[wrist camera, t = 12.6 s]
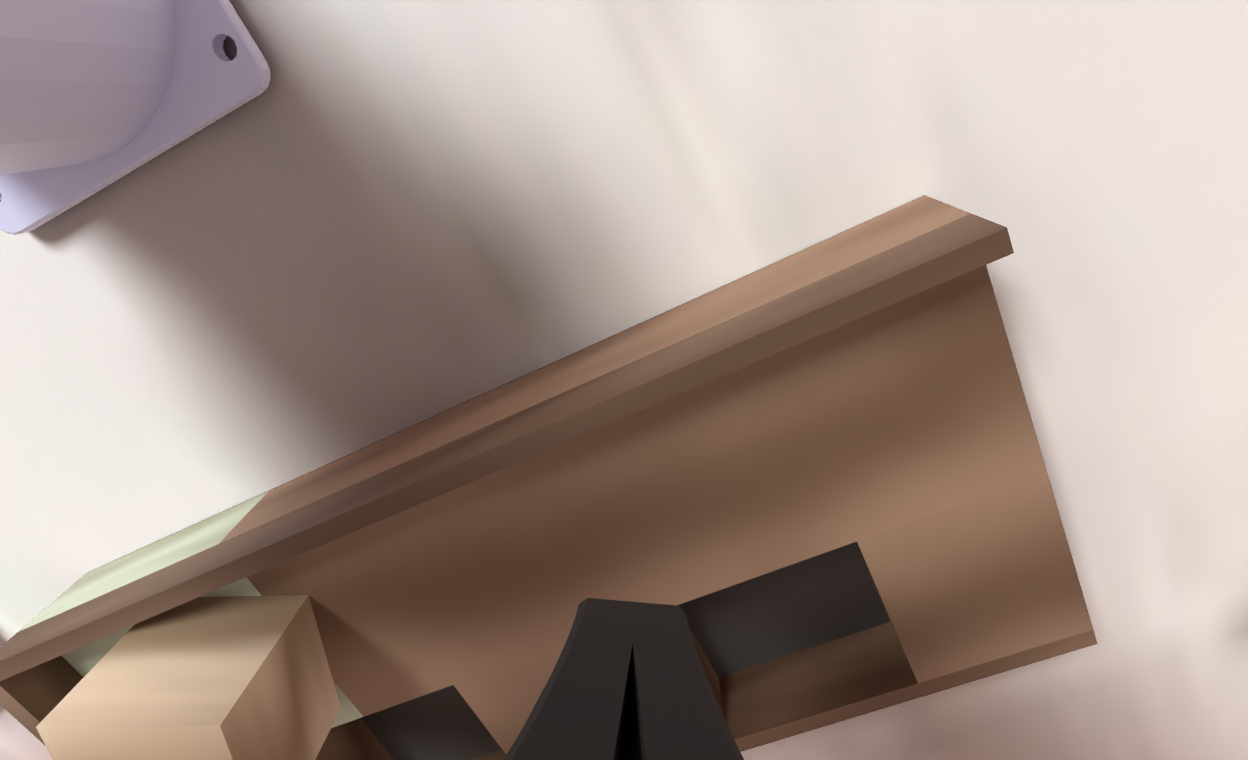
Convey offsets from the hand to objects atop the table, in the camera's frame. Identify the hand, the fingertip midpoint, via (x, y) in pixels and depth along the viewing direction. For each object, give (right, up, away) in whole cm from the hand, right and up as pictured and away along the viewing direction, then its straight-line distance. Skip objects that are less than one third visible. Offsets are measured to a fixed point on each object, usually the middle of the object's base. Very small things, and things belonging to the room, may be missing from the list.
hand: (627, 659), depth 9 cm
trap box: (-2, -2, +11) cm, 12 cm away
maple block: (-10, -4, +9) cm, 14 cm away
